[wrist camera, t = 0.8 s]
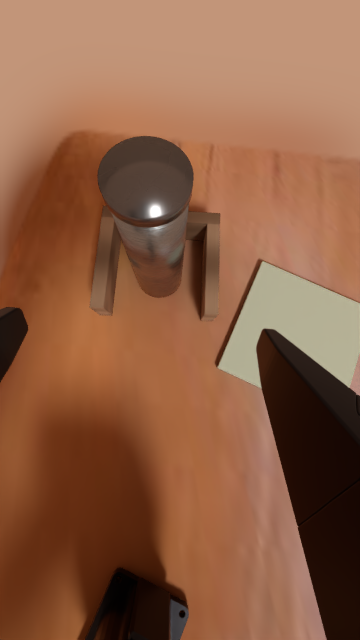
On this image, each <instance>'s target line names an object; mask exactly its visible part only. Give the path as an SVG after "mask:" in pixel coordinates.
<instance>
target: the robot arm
mask: <svg viewBox="0 0 360 640" xmlns="http://www.w3.org/2000/svg"><path fill="white" fill-rule="evenodd" d="M27 331H28V325H27V322H26V319H25V317H24V314H23V312H22V310H21V309H20V308H15V307H6V308H3V309H0V382H1V380H2V379H3V377H4V376H5V374H6V372H7V371H8V369H9V367H10V366H11V364H12V362H13V360H14V358H15V356H16V354H17V352H18V350H19V348H20V346H21V344H22V342H23V340H24V338H25V336H26V334H27ZM256 353H257V360H258V368H259V375H260V382H261V388H262V392H263V396H264V400H265V404H266V407H267V411H268V415H269V419H270V423H271V427H272V430H273V434H274V438H275V442H276V446H277V450H278V453H279V457H280V461H281V465H282V469H283V473H284V477H285V480H286V484H287V488H288V492H289V496H290V500H291V503H292V507H293V511H294V515H295V519H296V523H297V526H299V527H298V531H299V535H300V539H301V543H302V546H303V550H304V554H305V558H306V562H307V566H308V569H309V573H310V577H311V581H312V585H313V589H314V593H315V596H316V600H317V604H318V608H319V612H320V616H321V619H322V623H323V627H324V631H325V635H326V638H327V640H360V396H359V395H356V393H355V392H354V391H353V390H352V389H350V388H349V387H348V386H346V385H345V384H344V383H343V382H341V381H340V380H339V379H337V378H336V377H335V376H334V375H332V374H331V373H330V372H329V371H327V370H326V369H325V368H323V367H322V366H321V365H320V364H318V363H317V362H316V361H315V360H313V359H312V358H311V357H309V356H308V355H307V354H306V353H304V352H303V351H302V350H300V349H299V348H298V347H297V346H295V345H294V344H293V343H292V342H290V341H289V340H288V339H286V338H285V337H284V336H283V335H281V334H280V333H279V332H278V331H276V330H275V329H267V328H264V329H263V330H262V331H261V334H260V337H259V340H258V342H257V346H256ZM117 576H121V579H118V578H117ZM181 610H184V612H183V613H180V611H181ZM188 615H189V611H188V605H187V603H186V602H184V601H182V600H180V599H179V598H177V597H175V596H173V595H171V594H169V592H167V591H165V590H164V589H162V588H160V587H158V586H156V585H154V584H152V583H150V582H149V581H147V580H145V579H143V578H139V577H138V576H136V575H134V574H132V573H130V572H128V571H126V570H125V569H123V568H117V569H116V570H115V571H114V573H113V576H112V578H111V580H110V583H109V585H108V587H107V590H106V592H105V594H104V596H103V599H102V601H101V603H100V606H99V608H98V610H97V613H96V615H95V617H94V619H93V622H92V624H91V626H90V629H89V631H88V633H87V636H86V638H85V640H180V638H181V636H182V633H183V630H184V627H185V625H186V622H187V619H188Z"/></svg>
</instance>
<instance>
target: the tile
mask: <svg viewBox="0 0 360 640" xmlns="http://www.w3.org/2000/svg"><path fill="white" fill-rule="evenodd" d="M264 328H267V329H275V330H276V331H278V332H279V333H280V334H281V335H283V336H284V337H285V338H286V339H288V340H289V341H290V342H292V343H293V344H294V345H295V346H297V347H298V348H299V349H300V350H302V351H303V352H304V353H306V354H307V355H308V356H309V357H311V358H312V359H313V360H315V361H316V362H317V363H318V364H320V365H321V366H322V367H323V368H325V369H326V370H327V371H329V372H330V373H331V374H332V375H334V376H335V377H336V378H337V379H339V380H340V381H341V382H343V383H344V384H345V385H346V386H348V387H350V384H351V381H352V377H353V374H354V370H355V367H356V364H357V360H358V357H359V353H360V303H358V302H355V301H353V300H351V299H348V298H346V297H344V296H342V295H339V294H337V293H335V292H332V291H330V290H328V289H325V288H323V287H321V286H319V285H316V284H314V283H312V282H309V281H307V280H305V279H303V278H300V277H298V276H296V275H293V274H291V273H289V272H287V271H284V270H282V269H280V268H277V267H275V266H273V265H270V264H268V263H266V262H264V261H262V262H261V264H260V266H259V269H258V271H257V274H256V276H255V278H254V281H253V283H252V285H251V288H250V290H249V293H248V295H247V297H246V300H245V302H244V304H243V307H242V309H241V312H240V314H239V316H238V319H237V321H236V323H235V326H234V328H233V331H232V333H231V335H230V338H229V340H228V342H227V345H226V347H225V350H224V352H223V354H222V357H221V359H220V361H219V364H218V366H217V368H218V369H220V370H222V371H225V372H227V373H229V374H231V375H233V376H235V377H237V378H239V379H242V380H244V381H246V382H248V383H250V384H252V385H254V386H256V387H259V388H261V382H260V375H259V368H258V360H257V353H256V346H257V342H258V340H259V337H260V334H261V331H262V330H263V329H264ZM261 389H262V388H261Z"/></svg>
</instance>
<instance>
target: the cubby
mask: <svg viewBox="0 0 360 640" xmlns="http://www.w3.org/2000/svg"><path fill="white" fill-rule="evenodd" d="M185 239H186V240H202V241H203V266H202V296H201V321H213V320H214V319H215V318H216V317H217V316H218V311H219V254H220V213H207V212H192V211H188V217H187V227H186V237H185ZM120 241H121V237H120V234H119V231H118V229H117V226H116V224H115V221H114V219H113V216H112V213H111V211H110V210H109V209H108V207H107V206H103V210H102V218H101V225H100V233H99V240H98V248H97V255H96V262H95V270H94V277H93V285H92V292H91V300H90V308H91V309H93V310H94V311H95V312H97V313H98V314H99V315H109V316H112V312H113V303H114V294H115V286H116V277H117V268H118V259H119V250H120Z"/></svg>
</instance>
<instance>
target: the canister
mask: <svg viewBox="0 0 360 640" xmlns="http://www.w3.org/2000/svg"><path fill="white" fill-rule="evenodd" d="M98 185H99V188H100V191H101V193H102V196H103V198H104V201H105V203H106V205H107V207H108V209H109V210H110V211H111V213H112V216H113V219H114V221H115V224H116V226H117V229H118V231H119V234H120V237H121V239H122V242H123V244H124V247H125V249H126V252H127V255H128V257H129V260H130V262H131V265H132V267H133V270H134V272H135V275H136V278H137V280H138V283H139V285H140V287H141V289H142V290H143V291H144V292H145V293H147V294H148V295H150V296H153V297H158V298H160V297H166V296H169V295H171V294H172V293H174V292H175V291H176V290H177V289H178V287H179V285H180V283H181V277H182V267H183V257H184V247H185V237H186V227H187V217H188V207H189V202H190V199H191V196H192V187H193V169H192V166H191V163H190V161H189V159H188V157H187V156H186V155H185V153H184V152H183V151H182V150H181V149H180V148H179V147H177V146H176V145H174V144H173V143H171V142H169V141H167V140H164V139H161V138H157V137H151V136H140V137H133V138H130V139H127V140H124V141H122V142H120V143H118V144H116V145H115V146H114V147H112V148H111V149H110V150H109V151H108V152H107V153H106V155H105V156H104V157H103V159H102V161H101V163H100V166H99V169H98Z"/></svg>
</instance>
